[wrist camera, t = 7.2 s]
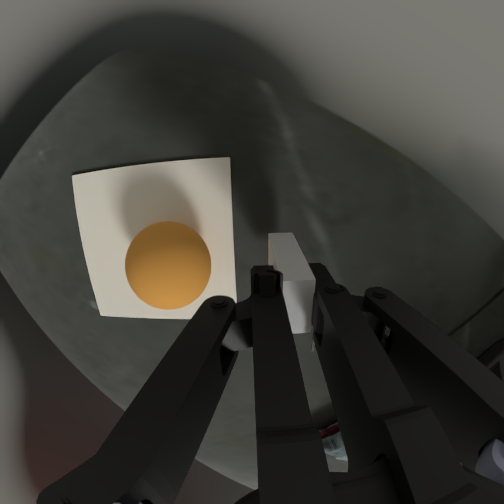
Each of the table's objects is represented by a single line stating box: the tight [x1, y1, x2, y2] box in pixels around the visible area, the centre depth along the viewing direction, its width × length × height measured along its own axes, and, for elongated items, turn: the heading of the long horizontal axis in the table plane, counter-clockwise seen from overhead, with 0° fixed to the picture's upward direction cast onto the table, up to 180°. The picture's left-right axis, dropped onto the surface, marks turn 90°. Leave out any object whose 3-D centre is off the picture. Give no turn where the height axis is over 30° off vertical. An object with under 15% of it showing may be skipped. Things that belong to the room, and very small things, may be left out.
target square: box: [72, 157, 237, 319], centre depth 19 cm, size 12×12×1 cm
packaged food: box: [320, 422, 348, 460], centre depth 26 cm, size 9×12×5 cm
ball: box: [125, 221, 211, 310], centre depth 17 cm, size 6×6×6 cm
